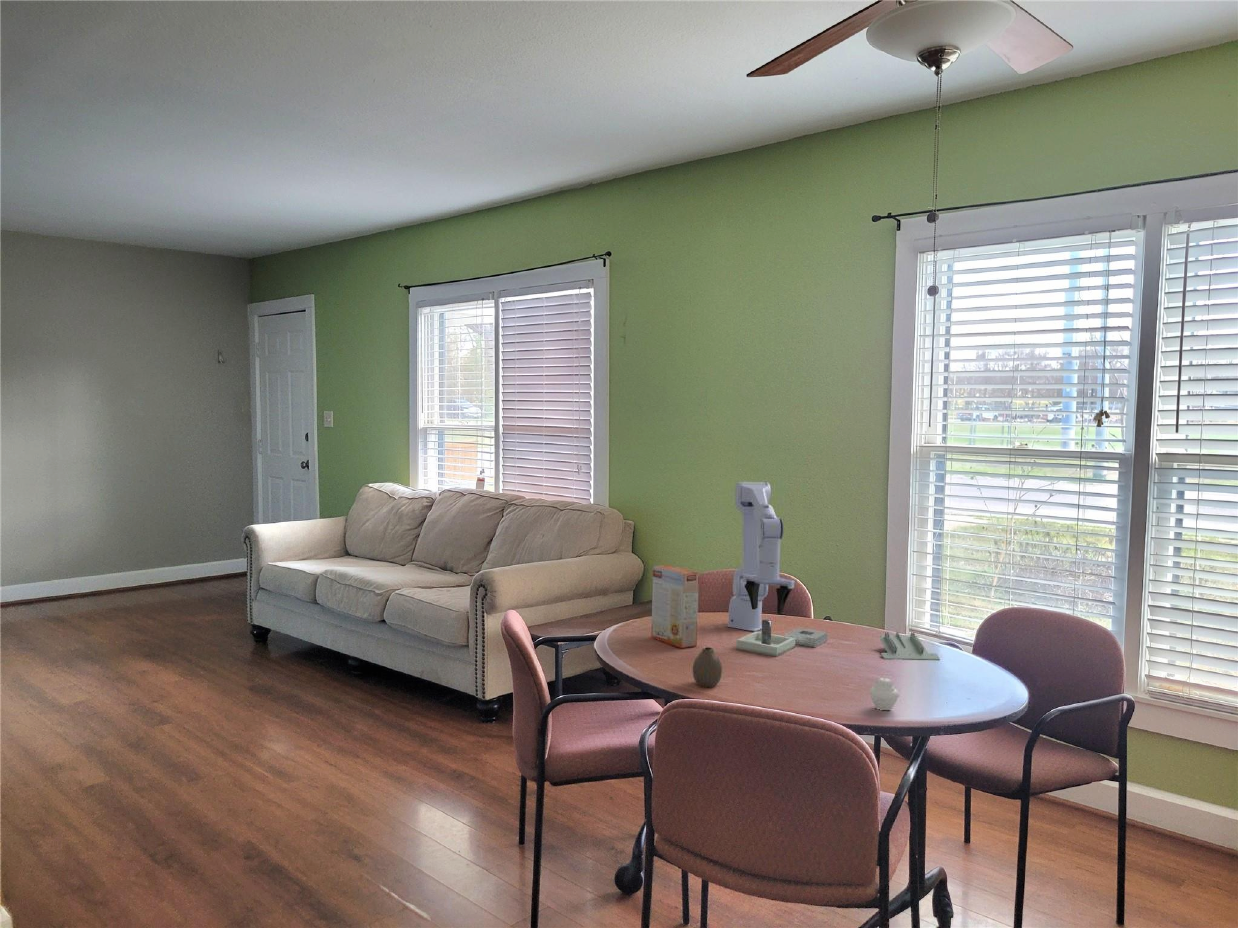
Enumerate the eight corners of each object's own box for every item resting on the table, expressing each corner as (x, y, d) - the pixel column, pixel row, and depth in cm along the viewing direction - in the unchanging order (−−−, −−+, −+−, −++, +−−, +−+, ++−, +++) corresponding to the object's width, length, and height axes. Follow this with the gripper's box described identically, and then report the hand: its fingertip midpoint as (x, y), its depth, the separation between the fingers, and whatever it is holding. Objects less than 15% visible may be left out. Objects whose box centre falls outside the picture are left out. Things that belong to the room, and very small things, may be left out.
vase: (713, 691, 202) (714, 654, 201) (687, 685, 205) (688, 649, 205) (726, 683, 207) (727, 647, 207) (700, 678, 211) (701, 642, 211)
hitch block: (785, 641, 247) (785, 633, 247) (797, 635, 254) (798, 627, 254) (815, 647, 242) (815, 638, 242) (827, 640, 249) (827, 632, 249)
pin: (759, 645, 240) (760, 620, 240) (764, 643, 242) (764, 619, 242) (767, 647, 238) (768, 622, 238) (772, 645, 240) (773, 620, 240)
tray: (736, 648, 239) (736, 639, 238) (755, 639, 248) (755, 631, 248) (776, 656, 232) (777, 647, 232) (794, 647, 242) (795, 638, 242)
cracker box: (698, 646, 240) (700, 571, 239) (680, 649, 237) (683, 573, 235) (667, 635, 252) (669, 563, 250) (650, 637, 248) (652, 565, 247)
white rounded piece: (867, 710, 191) (869, 679, 190) (870, 702, 196) (871, 671, 196) (897, 715, 189) (898, 683, 188) (899, 706, 194) (900, 675, 194)
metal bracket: (870, 627, 244) (923, 628, 244) (868, 645, 246) (920, 646, 246) (886, 655, 230) (942, 656, 231) (883, 674, 232) (939, 675, 233)
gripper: (738, 560, 240) (736, 609, 240) (787, 567, 231) (785, 617, 232) (749, 557, 245) (748, 605, 246) (798, 563, 237) (796, 612, 238)
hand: (767, 610), depth 240 cm, fingers open, 7 cm apart
